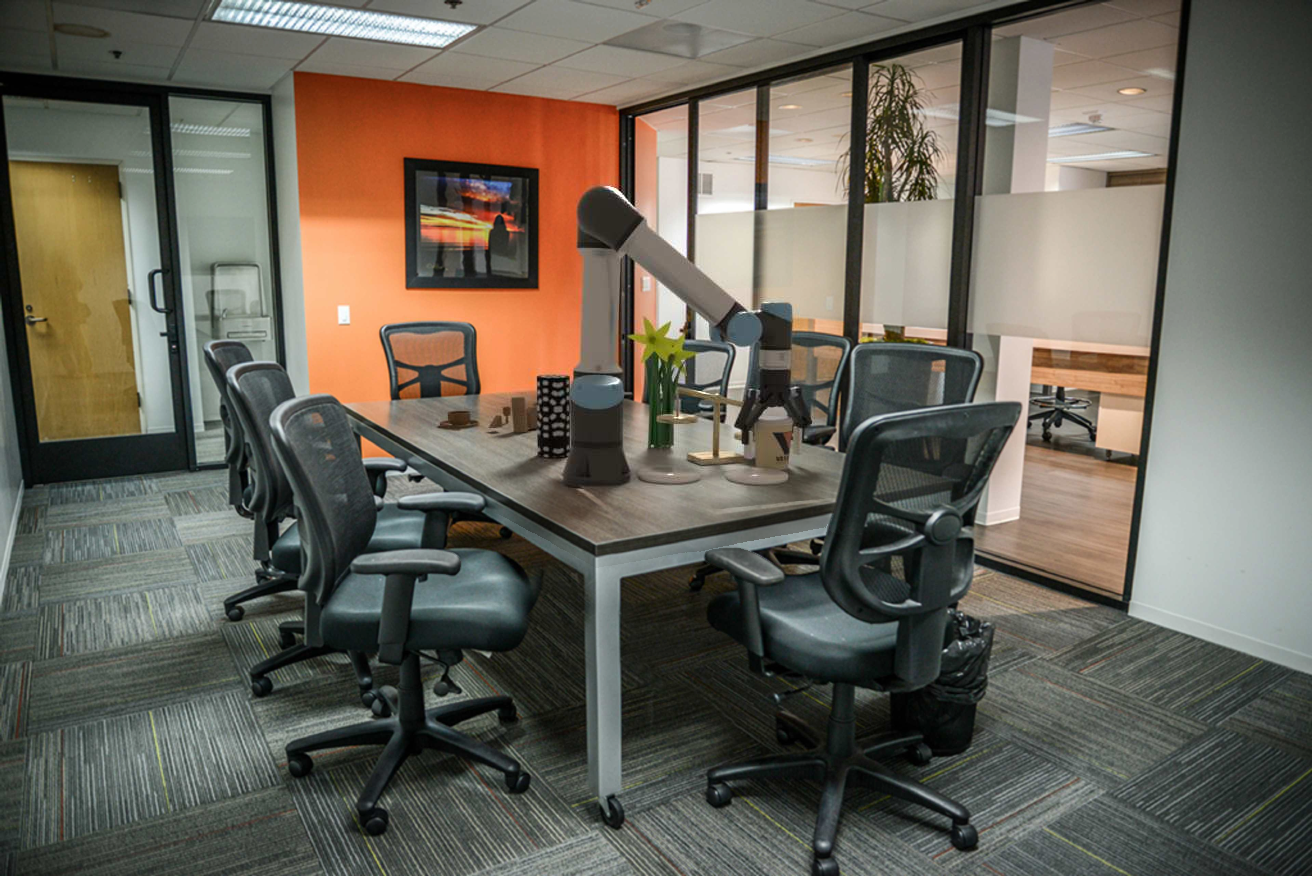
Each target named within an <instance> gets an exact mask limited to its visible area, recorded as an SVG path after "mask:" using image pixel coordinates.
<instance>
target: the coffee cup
mask: <svg viewBox="0 0 1312 876" xmlns="http://www.w3.org/2000/svg"><path fill="white" fill-rule="evenodd" d="M793 424H794V421H793V420H792V418H791V417H790V416H786V415H778V414H777V415H775V414H770V415H769V414H768V415H767V414H765V415H764V414H761V416H760V417H759V418H758V420H757V421H756V423H755V424H754V433H755V442H754V456H755V457H754V458H755V468H768V469H775V470H780V471H783V470H786V469H788V468H789V463H790V453H791V442H792V436H793Z"/></svg>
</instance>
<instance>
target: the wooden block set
mask: <svg viewBox="0 0 1312 876" xmlns="http://www.w3.org/2000/svg"><path fill="white" fill-rule="evenodd" d="M526 405H527V404H526V397H525V396H513V397H511V414H512V425H513V426H512V428H513V433H515V434H520V433H523V434H524V433H527V432H528V429H535V428H537V402H534V403H533V406H531V405H530V406H527V407H526ZM502 417H503V416H502V415H499V414H498V415H495V416H494V418H493V419H492V421H491V423H490V424H489V426H488V429H498V428H503V418H502Z"/></svg>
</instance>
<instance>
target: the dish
mask: <svg viewBox="0 0 1312 876" xmlns="http://www.w3.org/2000/svg"><path fill="white" fill-rule="evenodd" d="M725 479H726V480H728V481H730V482H733V483H738V484H744V485H752V486H753V485H756V486H758V485H759V486H765V485H767V486H768V485H779V484H783V483H786V482H788V480H789V473H787V472H785V471H783V470H775V469H768V468H757V467H737V468H732V469H728V470H726V471H725Z"/></svg>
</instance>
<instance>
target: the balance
mask: <svg viewBox="0 0 1312 876" xmlns="http://www.w3.org/2000/svg"><path fill="white" fill-rule="evenodd" d="M680 394H682V395H683V394H684V395H688V396H690V397H691V396H693V397H695V398H700V399H704V400H709V401H712V402H713V413H712V415H713V416H712V417H713V419H712V451H704V452H702V451H701V452H688V453H686V460H687V461H690V462H692V463H695V464H697V465H700V466H707V465H719V464H720V465H721V464H722V465H723V464H731V463H732V464H733V463H734V464H735V463H745V460H746V458H745V457H744V454H741V453H737V452H736V451H732V450H720V431H721V430H720V429H721V428H720V424H721V423H720V421H721V404H726V405H729V406H734V407H737V408H738V407H739V408H742V406H743V404H744V402H745V401H741V400H736V399H732V398H727V397H725V396H722V394H719V393H715V394H711V393H707V392H702V391H699V390H694V389H691V388H686V387H682V386H677V390H676V397H675V402H676V403H675V404H676V406H675V409H676V411H675V413H673V414H664V415H658V416H657V421H658V422H661V423H668V424H674V425H689V424H695V423H698V422H699V417H698V416H697V415H694V414H685V413H680V412H679V411H680ZM755 407H756V404H754V405H753V407H752V409H751V411H753V409H754V408H755ZM750 431H752V432H753V443H755V433H754V425H753V427H752V428H751V429H750ZM741 434H742V432H741V431H737V432H736V431H735V432H734V433H733V439H734V440H737V441H741Z"/></svg>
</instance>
